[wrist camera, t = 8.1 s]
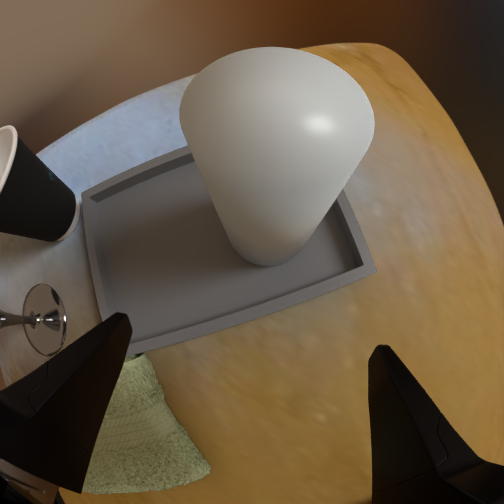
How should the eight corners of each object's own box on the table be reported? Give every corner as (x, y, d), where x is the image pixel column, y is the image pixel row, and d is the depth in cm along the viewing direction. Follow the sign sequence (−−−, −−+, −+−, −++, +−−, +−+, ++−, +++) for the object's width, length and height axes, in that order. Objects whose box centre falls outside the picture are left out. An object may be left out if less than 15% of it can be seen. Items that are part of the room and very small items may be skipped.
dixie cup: (97, 172, 22) (28, 109, 12) (89, 253, 21) (-4, 217, 10) (43, 188, 22) (-24, 144, 12) (34, 260, 21) (-47, 235, 10)
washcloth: (29, 387, 19) (10, 392, 16) (147, 339, 20) (129, 344, 17) (87, 487, 16) (73, 499, 13) (222, 469, 17) (217, 490, 14)
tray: (125, 355, 19) (113, 359, 17) (92, 200, 22) (81, 193, 20) (367, 275, 20) (377, 271, 18) (299, 126, 22) (302, 112, 20)
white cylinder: (265, 283, 19) (276, 234, 6) (210, 223, 20) (145, 105, 7) (325, 228, 20) (405, 118, 7) (269, 174, 21) (277, 32, 8)
